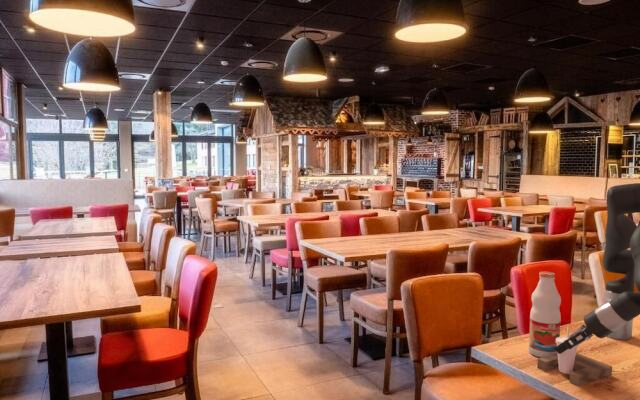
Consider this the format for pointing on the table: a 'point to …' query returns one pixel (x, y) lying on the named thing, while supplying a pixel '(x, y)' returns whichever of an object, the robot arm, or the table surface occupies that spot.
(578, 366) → the notched board
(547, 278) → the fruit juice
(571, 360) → the smoothie
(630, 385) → the table surface
